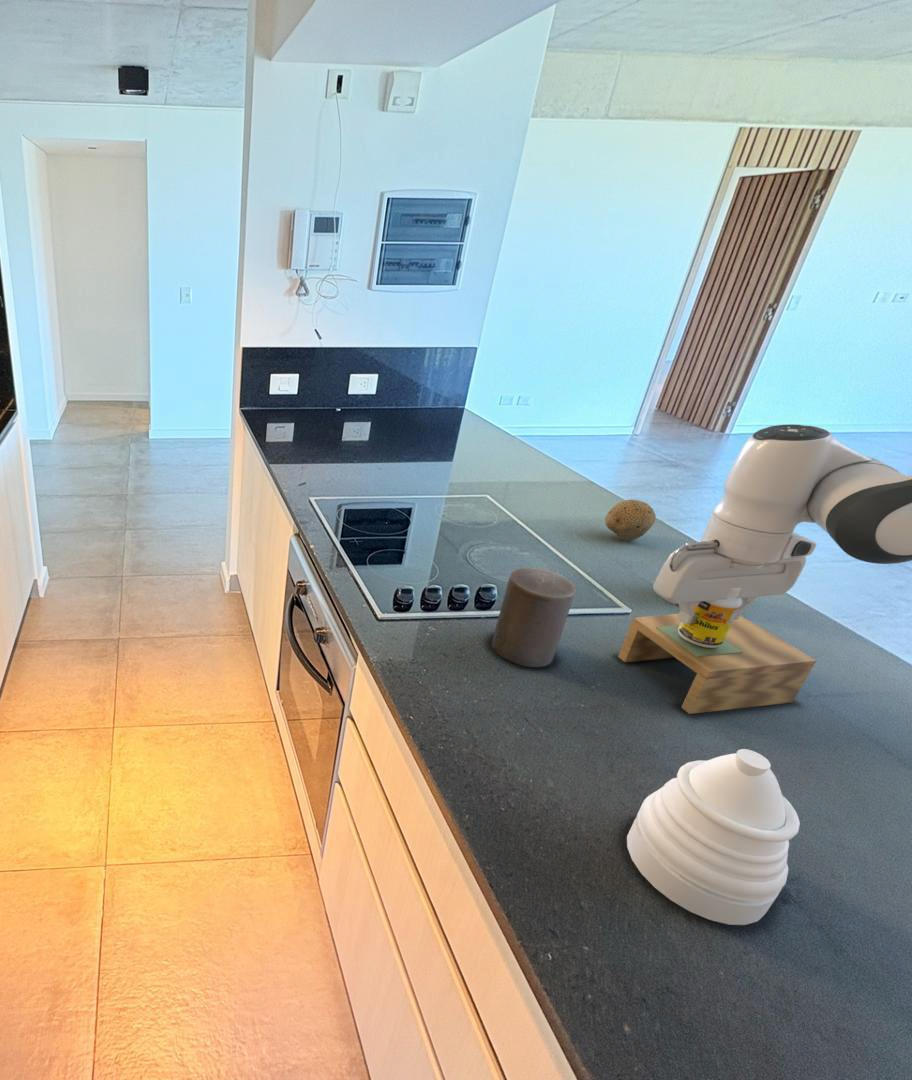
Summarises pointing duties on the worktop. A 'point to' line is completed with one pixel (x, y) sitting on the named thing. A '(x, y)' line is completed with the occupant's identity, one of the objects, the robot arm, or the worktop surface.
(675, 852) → the honey pot
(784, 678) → the oak shelf
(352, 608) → the worktop surface
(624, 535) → the natural sponge
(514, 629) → the pillar candle
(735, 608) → the supplement bottle
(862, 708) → the worktop surface
